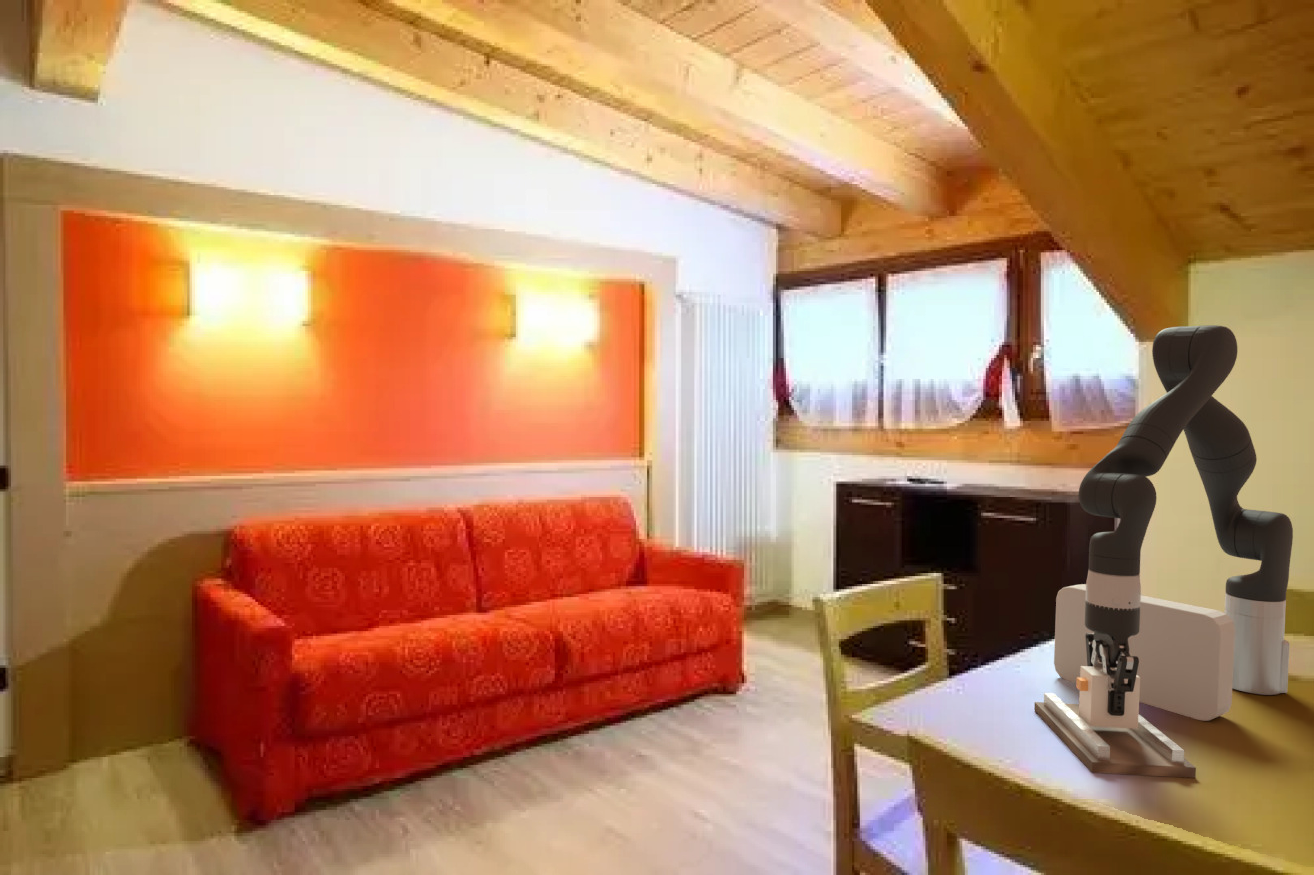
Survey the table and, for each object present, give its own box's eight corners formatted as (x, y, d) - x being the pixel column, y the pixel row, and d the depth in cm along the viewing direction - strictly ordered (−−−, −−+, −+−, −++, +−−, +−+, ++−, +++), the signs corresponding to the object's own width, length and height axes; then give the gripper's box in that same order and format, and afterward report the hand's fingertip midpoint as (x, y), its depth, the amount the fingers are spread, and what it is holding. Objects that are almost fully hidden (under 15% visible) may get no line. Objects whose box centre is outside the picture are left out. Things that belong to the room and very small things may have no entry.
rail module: (1124, 717, 133) (1126, 668, 133) (1138, 728, 129) (1140, 677, 129) (1071, 715, 134) (1073, 665, 134) (1082, 725, 130) (1084, 674, 129)
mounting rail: (1115, 707, 142) (1116, 696, 142) (1183, 764, 120) (1184, 750, 120) (1043, 704, 143) (1044, 692, 143) (1097, 759, 121) (1098, 745, 121)
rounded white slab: (1237, 716, 143) (1242, 611, 142) (1216, 725, 139) (1221, 617, 138) (1075, 670, 167) (1078, 580, 166) (1053, 676, 163) (1056, 584, 162)
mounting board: (1120, 714, 143) (1120, 706, 143) (1195, 778, 119) (1195, 767, 119) (1034, 710, 144) (1034, 702, 144) (1091, 772, 120) (1092, 762, 120)
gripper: (1160, 613, 123) (1156, 727, 124) (1117, 591, 137) (1113, 694, 138) (1107, 611, 124) (1102, 725, 125) (1069, 589, 138) (1065, 692, 139)
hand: (1108, 708), depth 131 cm, fingers closed on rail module, 4 cm apart
